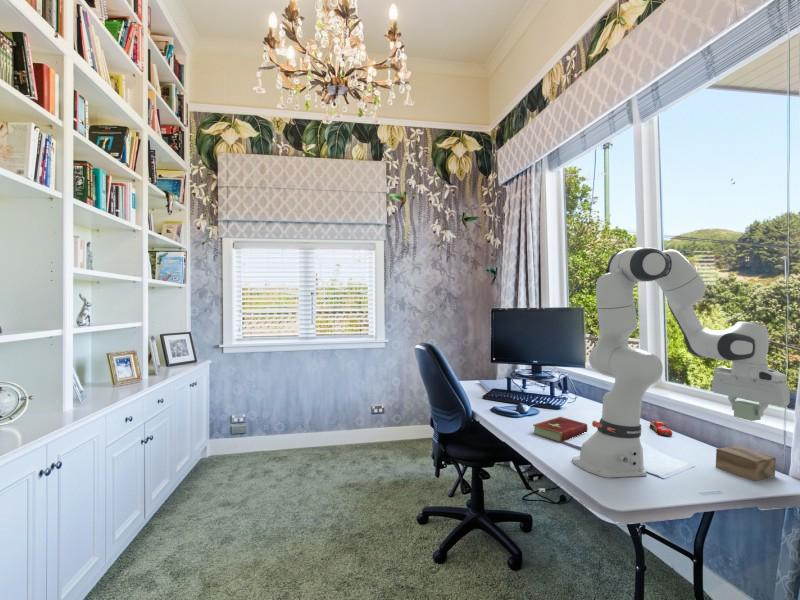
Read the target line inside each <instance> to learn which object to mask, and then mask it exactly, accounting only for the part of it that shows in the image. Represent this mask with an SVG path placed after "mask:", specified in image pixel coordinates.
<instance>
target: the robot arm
mask: <svg viewBox="0 0 800 600" xmlns="http://www.w3.org/2000/svg"><path fill="white" fill-rule="evenodd" d="M652 281H655V282H656V283H657V285H658V286H659V288H660V289H661V291H662V292H663V294H664V295H665V297H666V299H667V301H666V302H667V305H668V309H669V311H670V312H671V314H672V316H673V319H674V320H675V322H676V324H677V326H678V328H679V329H680V331H681V333H682V335H683V338H684V344H685V346H686V349H687V350H688V352H689V353H690V354H691V355H693V356H695V357H698V358H709V359H714V360H721V361H727V362H731V367H723V366H718V367H715V368H714V370H713V379H712V382H711V390H712V392H713V393H714V394H718V395H723V396H728V398H727V399H728V401H729V403H730V405H731V411H734V401H737V399H743V400H745V401H750V402H755V403H756V402H757V403H758V404H759V406H761V407H760V409H759V410H755V415H756V416H760V417H761V418H762V417H764V411H766V409H768V407H769V405H770V406H776V407H779V408H780V407H787V406H788V405H789V404H790V401H791V400H790V399H791V395H790V393H791V392H790V387H789V385H788V384H787V383H786V382H787V380H788V376H787V374H786V373H782V372H780V371H777V370H776V369H772V368H770V367H769V366H768V363H769V362H768V359H767V355H768V352H769V343H770V342H769V332H768V329H767V327H766V325H764V324H762V323H758V322H754V321H753V322H751V321H744V320H739V321H737V322H736V324H734V325H733V326H731V327H729V328H725V329H723V330H719V329H718V330H717V329H710V328H709V327H706V326H704V325H703V324H702V323H701V321H700V319H699V318H698V316H697V314H696V312H695V310H694V307H693V306H694V305H696V304H697V303H699V302H700V301H701V300H702V298H704V296H705V294H706V290H707V288H706V287H707V286H706V284H705V281H704V280H703V278H702V277H701V275H700V274H699V273H698V271H697V269H696V267H694V266H693V265H692V263H691V262H690V261H689V260H688V259H687V258H686V257H685V256H684V255H683V254H682V253H680V251H678V250H675V249H667V250H663V251H662V250H660V249H659V248H656V247H649V246H648V247H646V246H645V247H630V248H626V249H621V250H618V251H616V252H615V253H613V254H612V255H611V256H610V258H609V259H608V263H607V267H606V270H605V273H604V274H602V275H600V276H599V277H598V278H597V280H596V284H595V285H596V286H595V303H596V311H597V319H598V332H599V333H598V338H597V342H596V345H595V346H594V347H593V348H592V349H591V351H590V352H589V355H588V362H589V365H590V367H591V368H592V369H593V370H595V371H596V372H598V373H600V374H601V375H603V376H606V377H610V378H613V379H614V384H613V387H612V389H611V390H609V391H607V392H605V394H604V395H603V397H602V408H601V418H600V419H599V421H596V420H592V422H591V425H592V427H593V428H597V430H596V431H595V432H594V433H593V434H592V435H590V437H589V438H588V439H587V440H586V441H584V442H583V443H582V445H581V446H580V447H581V448H580V452H579V453H580V454H579V455H577V456H573V457H572V458H571V461H572V463H573V464H575V466H577V467H578V468H581V469H583V470H585V471H587V472H589V473H590V474H591V473H592V474H593V475H596V476H600V477H602V478H609V479H610V478H626V477H627V478H629V477H644V476H647V471H646V469H645V468H644V467H645V466H644V453H643V452H644V450H643V445H642V443H641V438H640V437H641V436H642V425H641V413H642V412H641V408H642V403H643V399H644V396H645V395H646V392H647V390H648V389H649V388H650V387H651V386H652V385H654V384H655V383H657V382H658V381H659V380H660V379H661V376H662V375H663V372H664V371H663V370H664V368H663V362H662V361H661V359H660V358H659V357H658V355H656V354H654V353H651V352H649V351H647V350H645V349H640V348H639V349H638V348H634V347H629V338H630V335H632V334H633V333H634V332H636V331H637V328H638V320H637V312H636V304H635V298H634V295H633V294H634V288H635V285H636V283H639V282H652Z"/></svg>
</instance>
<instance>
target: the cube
mask: <svg viewBox="0 0 800 600" xmlns="http://www.w3.org/2000/svg"><path fill="white" fill-rule="evenodd" d="M760 407H761V406H759V403H758V402H757V403H756V402H754V401H749V400H735V401H734V410H733V417H734V418H738V419H742V420H747V421H751V422H754V421H760V420H761V418H762V417H760V416H756V415H755V410H759V409H760Z"/></svg>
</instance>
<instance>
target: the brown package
mask: <svg viewBox="0 0 800 600" xmlns="http://www.w3.org/2000/svg"><path fill="white" fill-rule="evenodd" d="M715 452H716V453H715V457H716V458H715V467H716V468H718V469H721V470H723V471H726V472H729V473H733V474H735V475H738V476H740V477H743V478H746V479H748V478H749V479H748V480H751V479H752V480H751V481H754V482H756V480H757V481H760V479H761V480H764V478H766V479H769V478H768V477H770V478H772V477H771V476H774V477H776V476H775V475H776V463H777V462H776V457H774V456H771V455H767V454H764V453H761V452H759V451H755V450H752V449H748V448H746V447H742V446H738V445H732V446H726V447H721V448H719V447H718V448H716V451H715Z"/></svg>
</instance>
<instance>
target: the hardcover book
mask: <svg viewBox="0 0 800 600" xmlns="http://www.w3.org/2000/svg"><path fill="white" fill-rule="evenodd" d="M532 425H533V427H534V429H533V430H534V431H533V433H534V434H535V435H538V436H541V437H545V438H547V439H551V440H553V441H557V442H559V443H562V442H565V441H567V440H570V438H571V439H573V438H576V437H578V436H577V435H579V434H581V435H583V434H582V433H584V432H587V433H588V430H589V429H588V424H587V422H581V421H577V420H574V419H571V418H566V417H564V416H558V417H555V418H551V419H549V420H548V419H547V420H545V421H541V422H537V423H535V424H532ZM584 434H585V433H584ZM575 436H576V437H575ZM579 436H580V435H579ZM572 437H573V438H572Z"/></svg>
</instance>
